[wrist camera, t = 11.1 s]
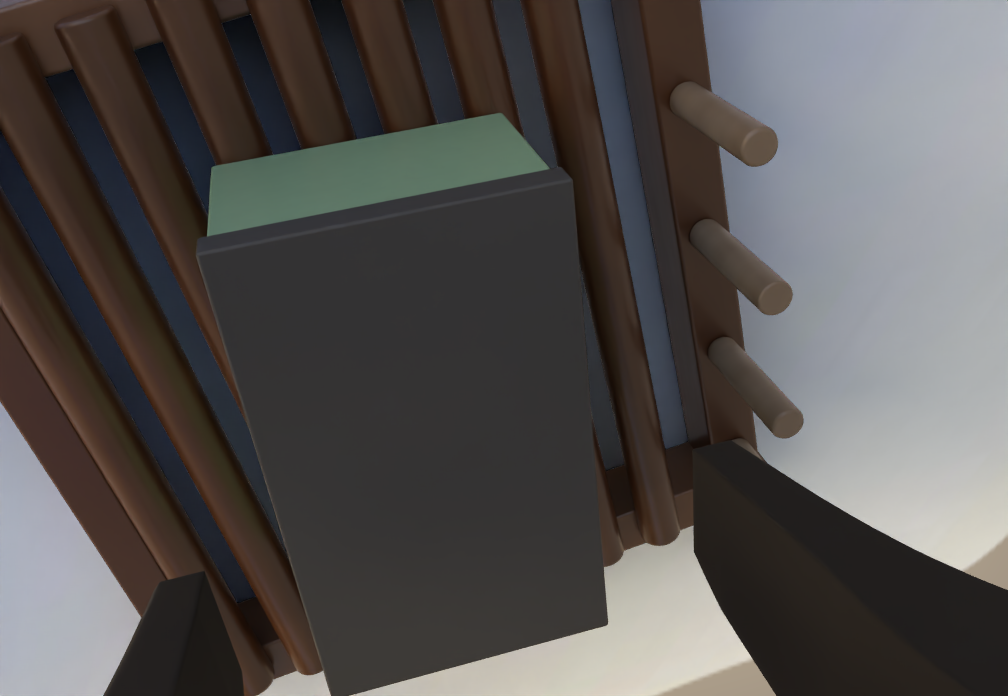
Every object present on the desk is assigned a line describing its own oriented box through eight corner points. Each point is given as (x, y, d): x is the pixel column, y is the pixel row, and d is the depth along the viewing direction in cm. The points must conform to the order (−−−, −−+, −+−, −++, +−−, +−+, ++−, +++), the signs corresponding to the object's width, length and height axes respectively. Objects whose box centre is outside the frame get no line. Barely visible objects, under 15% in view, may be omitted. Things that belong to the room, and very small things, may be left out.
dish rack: (201, 652, 25) (194, 826, 21) (-176, 48, 16) (-317, 133, 12) (740, 457, 26) (838, 583, 22) (649, -199, 18) (779, -200, 13)
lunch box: (316, 558, 21) (332, 701, 18) (203, 161, 16) (194, 253, 13) (551, 499, 22) (609, 625, 19) (507, 104, 17) (573, 178, 14)
